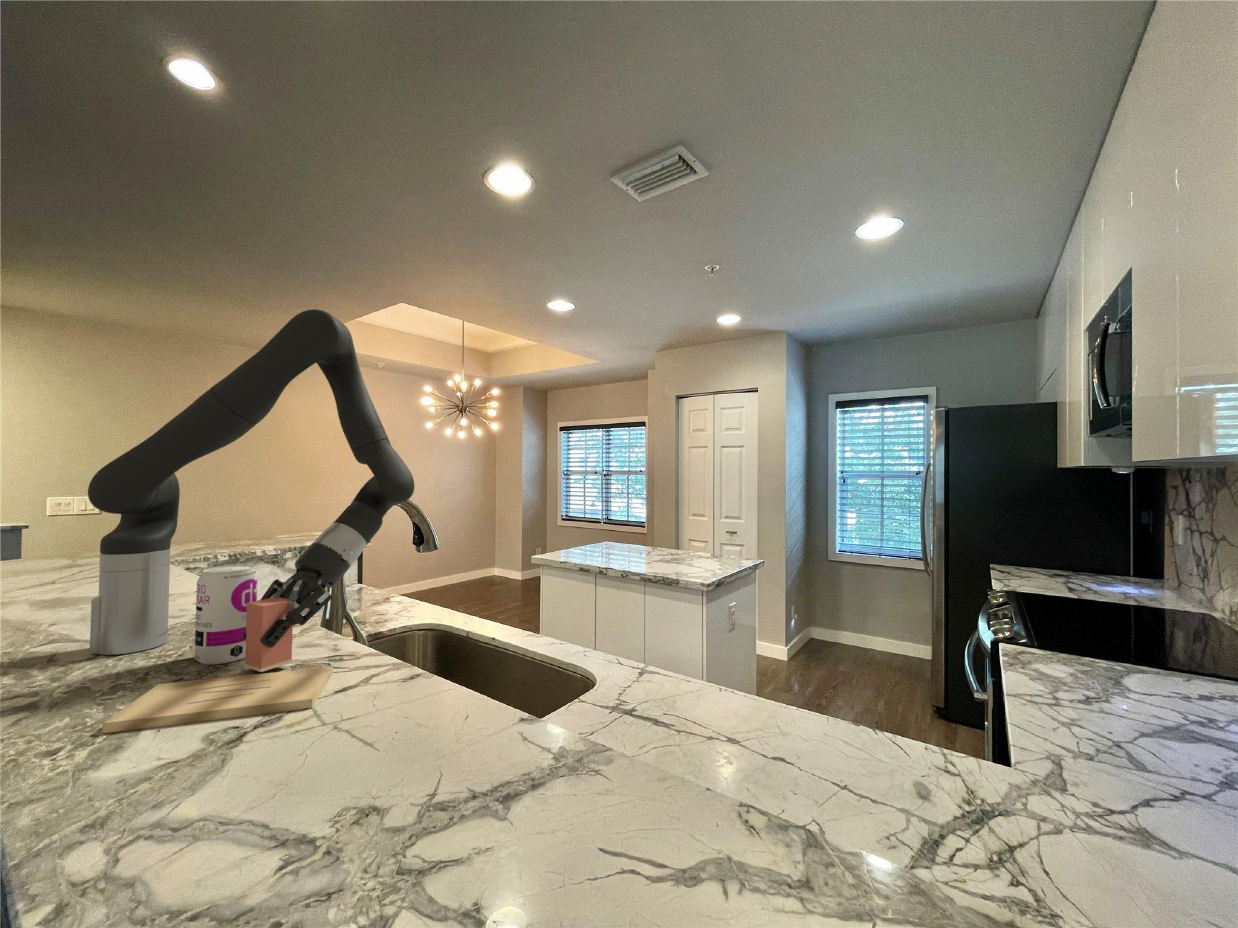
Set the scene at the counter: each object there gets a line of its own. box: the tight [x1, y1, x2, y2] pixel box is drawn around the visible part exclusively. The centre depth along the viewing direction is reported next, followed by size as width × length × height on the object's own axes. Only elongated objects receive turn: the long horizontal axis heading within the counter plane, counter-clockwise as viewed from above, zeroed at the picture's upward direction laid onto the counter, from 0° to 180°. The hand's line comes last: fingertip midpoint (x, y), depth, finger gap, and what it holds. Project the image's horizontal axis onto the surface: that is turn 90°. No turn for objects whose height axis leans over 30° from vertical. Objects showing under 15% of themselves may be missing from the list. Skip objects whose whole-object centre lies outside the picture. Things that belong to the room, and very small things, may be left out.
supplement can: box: [194, 564, 259, 666], centre depth 86 cm, size 8×8×15 cm
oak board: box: [101, 666, 334, 734], centre depth 69 cm, size 22×12×1 cm, turn 108°
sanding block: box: [244, 598, 294, 673], centre depth 80 cm, size 5×5×10 cm
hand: (256, 641), depth 78 cm, fingers closed on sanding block, 4 cm apart
